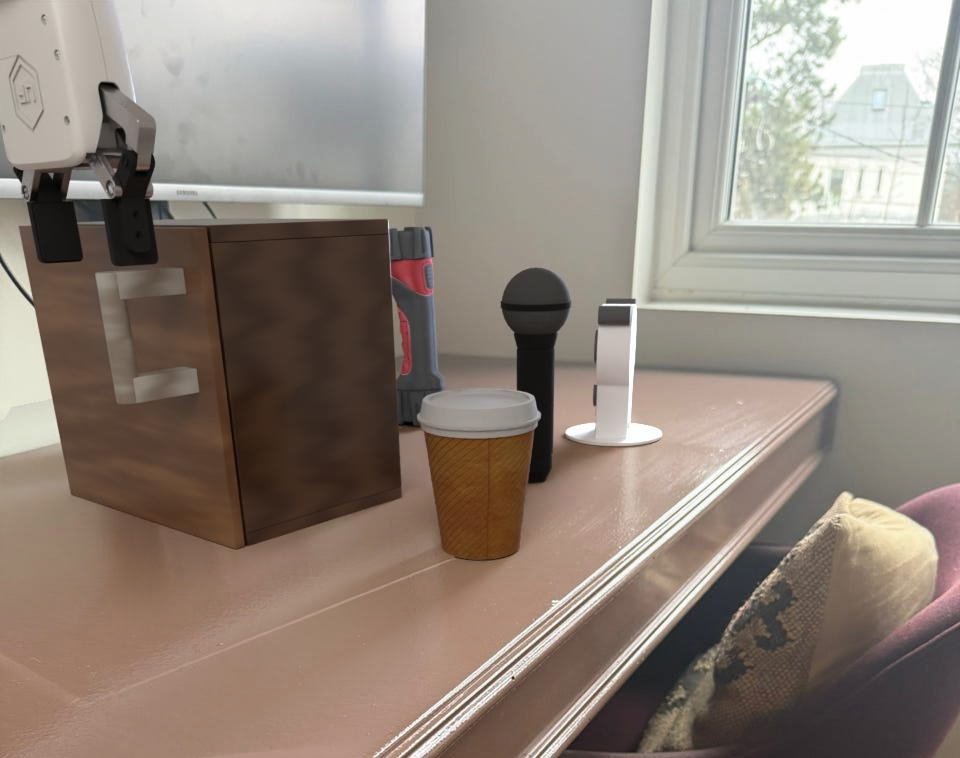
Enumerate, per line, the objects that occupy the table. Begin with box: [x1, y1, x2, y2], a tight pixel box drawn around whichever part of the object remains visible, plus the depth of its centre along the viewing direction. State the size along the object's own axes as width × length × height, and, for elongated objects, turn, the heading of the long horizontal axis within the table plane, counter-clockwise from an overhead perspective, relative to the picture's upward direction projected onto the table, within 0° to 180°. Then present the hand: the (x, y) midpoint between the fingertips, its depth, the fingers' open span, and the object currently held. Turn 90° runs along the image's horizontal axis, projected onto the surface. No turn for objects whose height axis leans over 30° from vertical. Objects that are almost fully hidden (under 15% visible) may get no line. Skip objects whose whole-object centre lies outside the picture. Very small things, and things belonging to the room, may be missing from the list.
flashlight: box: [389, 226, 446, 427], centre depth 119 cm, size 8×8×23 cm
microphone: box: [500, 267, 572, 484], centre depth 93 cm, size 7×7×20 cm
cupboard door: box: [18, 225, 246, 550], centre depth 80 cm, size 7×26×24 cm, turn 49°
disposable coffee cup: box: [417, 387, 541, 561], centre depth 76 cm, size 10×10×12 cm
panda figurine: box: [565, 297, 663, 447], centre depth 112 cm, size 12×11×15 cm
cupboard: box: [77, 218, 403, 547], centre depth 89 cm, size 18×26×24 cm
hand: (97, 263), depth 67 cm, fingers open, 9 cm apart
